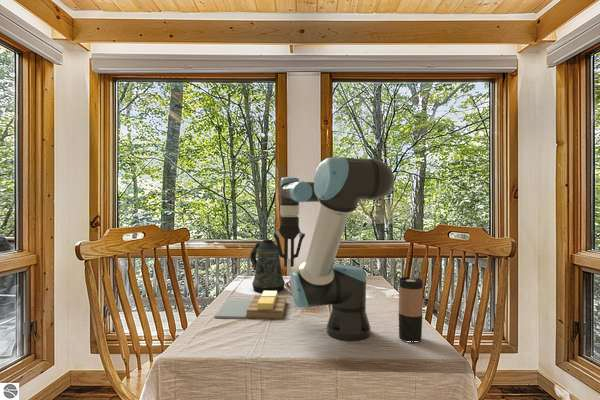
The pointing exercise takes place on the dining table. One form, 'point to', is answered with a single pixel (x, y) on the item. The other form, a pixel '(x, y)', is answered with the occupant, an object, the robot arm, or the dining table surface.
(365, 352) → the dining table surface
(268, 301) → the mustard tile
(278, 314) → the walnut deck
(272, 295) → the ivory tile
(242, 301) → the slate mat
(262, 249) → the beer stein
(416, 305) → the travel mug
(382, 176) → the robot arm
